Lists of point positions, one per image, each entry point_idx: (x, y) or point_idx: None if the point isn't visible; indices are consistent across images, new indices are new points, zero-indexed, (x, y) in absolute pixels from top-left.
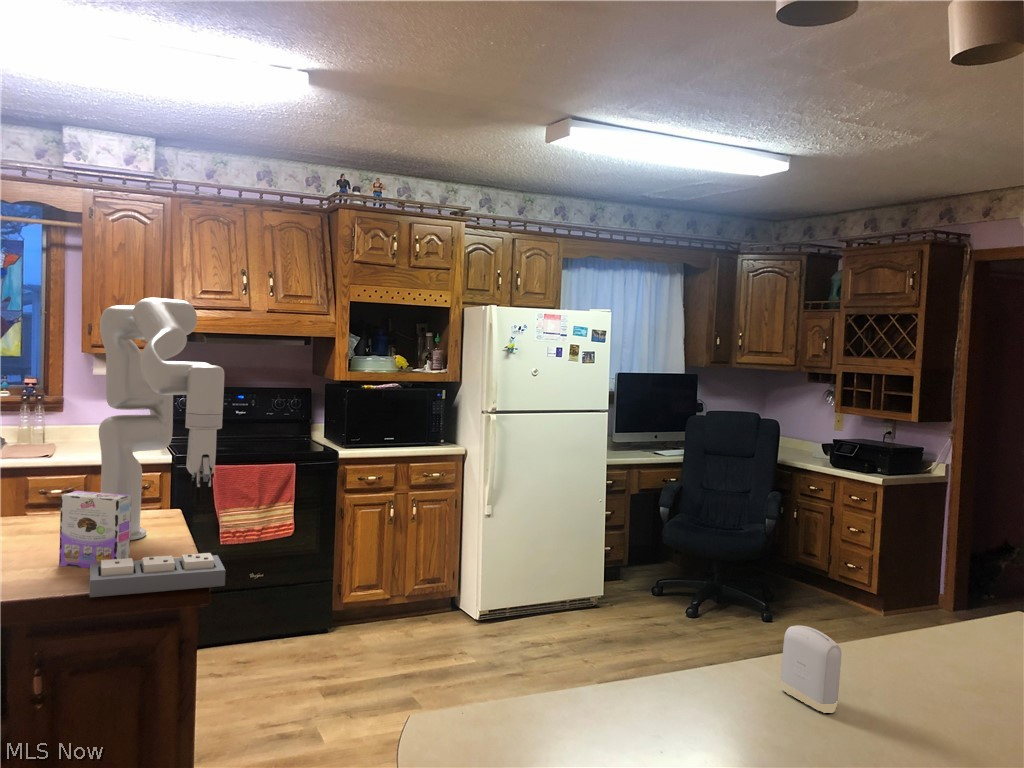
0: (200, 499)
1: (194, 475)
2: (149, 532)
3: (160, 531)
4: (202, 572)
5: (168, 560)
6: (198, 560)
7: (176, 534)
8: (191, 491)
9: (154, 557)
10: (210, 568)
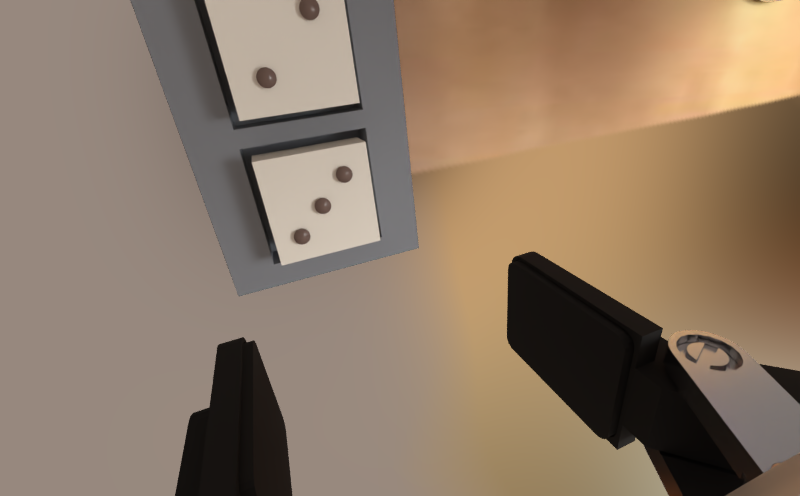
0: (190, 432)
1: (697, 405)
2: (780, 13)
3: (773, 46)
4: (214, 224)
5: (281, 90)
6: (278, 212)
7: (732, 93)
8: (549, 279)
9: (331, 23)
10: (259, 247)
